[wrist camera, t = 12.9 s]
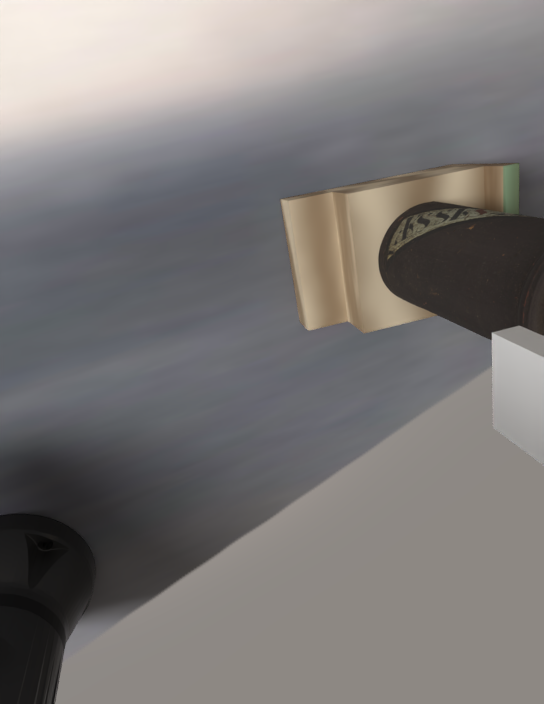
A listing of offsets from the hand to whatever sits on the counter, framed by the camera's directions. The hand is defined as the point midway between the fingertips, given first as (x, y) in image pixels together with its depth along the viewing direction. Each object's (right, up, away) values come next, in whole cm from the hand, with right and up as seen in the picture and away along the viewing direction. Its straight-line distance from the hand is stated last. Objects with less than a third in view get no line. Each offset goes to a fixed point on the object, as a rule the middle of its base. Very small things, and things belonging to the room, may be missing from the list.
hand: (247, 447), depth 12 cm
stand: (+11, +13, +38) cm, 41 cm away
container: (+13, +11, +32) cm, 36 cm away
